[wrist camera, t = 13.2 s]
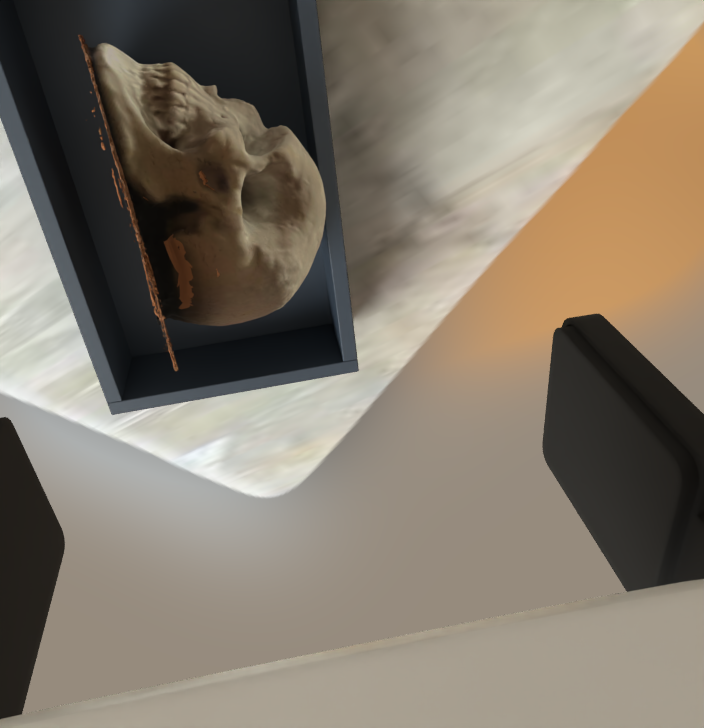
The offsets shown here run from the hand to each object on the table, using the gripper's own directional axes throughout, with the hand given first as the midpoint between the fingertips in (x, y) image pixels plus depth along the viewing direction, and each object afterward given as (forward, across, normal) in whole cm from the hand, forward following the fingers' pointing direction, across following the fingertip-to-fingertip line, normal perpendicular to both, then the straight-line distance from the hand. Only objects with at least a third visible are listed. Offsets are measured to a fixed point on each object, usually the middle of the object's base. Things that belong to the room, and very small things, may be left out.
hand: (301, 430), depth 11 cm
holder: (+22, +3, +2) cm, 22 cm away
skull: (+12, +7, 0) cm, 14 cm away
